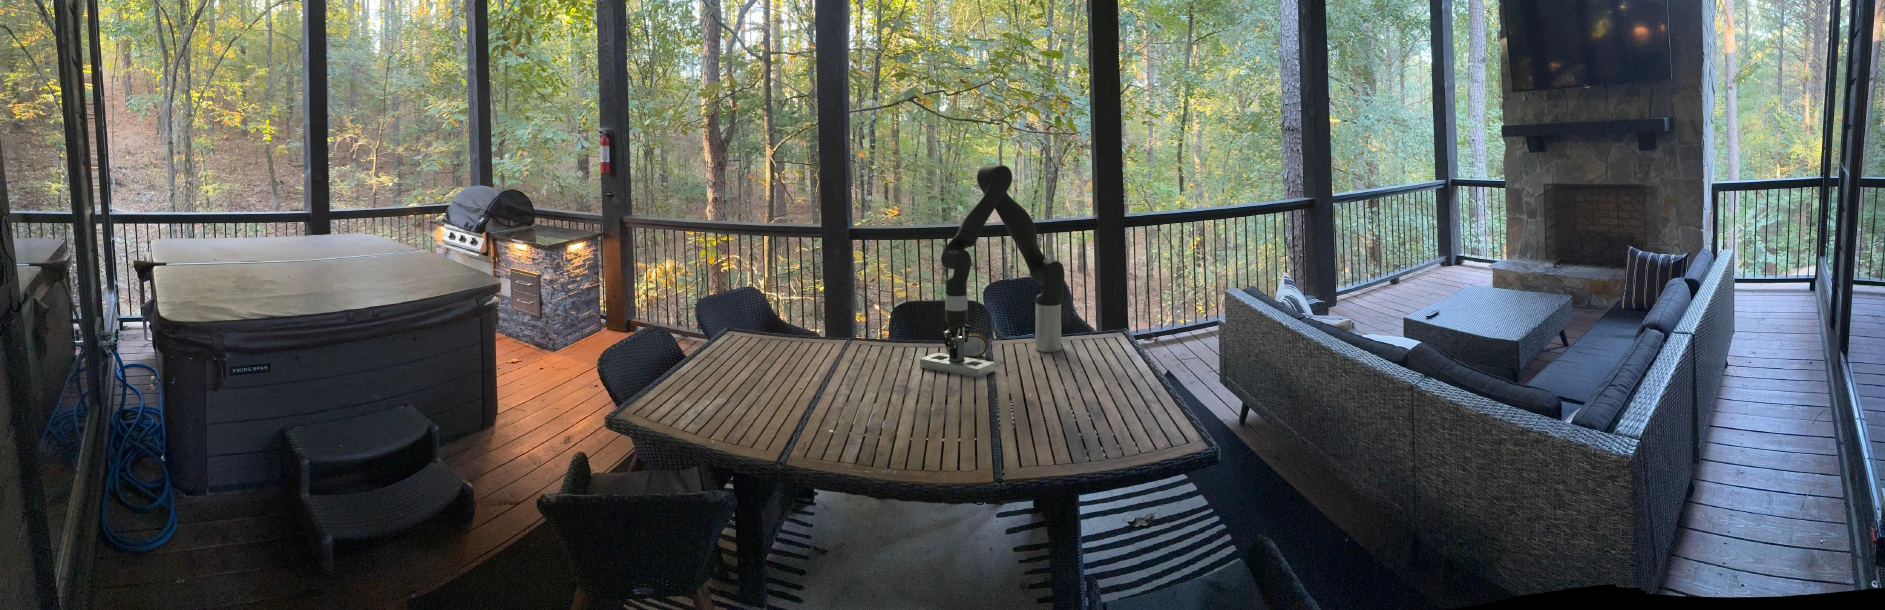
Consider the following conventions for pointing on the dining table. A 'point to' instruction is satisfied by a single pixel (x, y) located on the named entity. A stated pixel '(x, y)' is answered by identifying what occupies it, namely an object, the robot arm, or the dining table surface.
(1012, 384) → the dining table surface
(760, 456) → the dining table surface
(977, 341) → the tin
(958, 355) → the square peg
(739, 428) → the dining table surface
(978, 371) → the rail
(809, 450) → the dining table surface
